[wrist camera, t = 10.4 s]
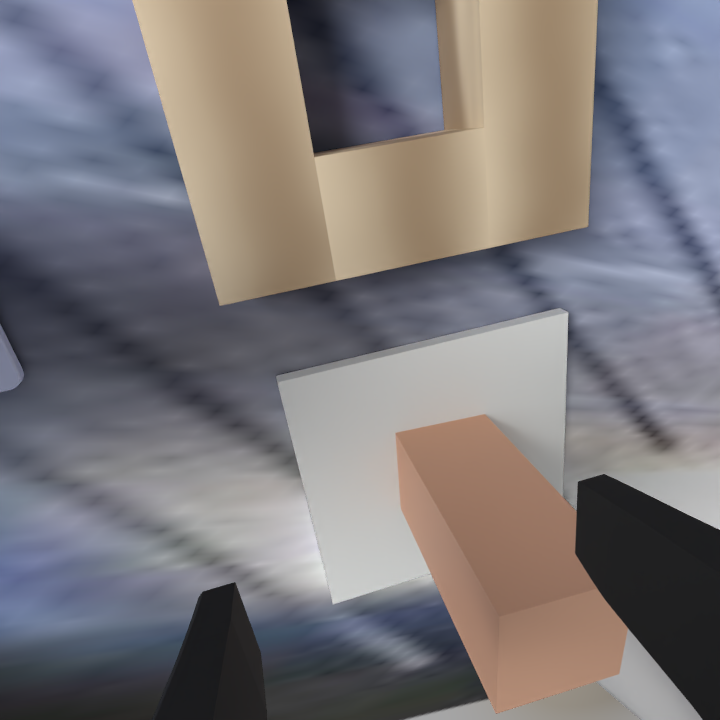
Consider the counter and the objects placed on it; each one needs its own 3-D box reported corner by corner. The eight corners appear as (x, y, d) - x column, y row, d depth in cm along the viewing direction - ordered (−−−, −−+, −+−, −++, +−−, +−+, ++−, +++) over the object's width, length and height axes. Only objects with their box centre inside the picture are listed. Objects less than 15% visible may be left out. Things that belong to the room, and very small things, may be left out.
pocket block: (221, 280, 17) (219, 305, 15) (90, -193, 12) (49, -289, 9) (537, 215, 19) (587, 226, 16) (538, -223, 14) (611, -310, 11)
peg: (400, 508, 22) (496, 713, 14) (395, 432, 21) (499, 616, 13) (483, 489, 23) (619, 673, 15) (485, 414, 21) (637, 577, 13)
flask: (639, 524, 28) (833, 707, 19) (639, 609, 31) (806, 799, 22) (520, 572, 27) (663, 786, 18) (533, 654, 30) (660, 870, 21)
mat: (330, 594, 24) (332, 604, 24) (275, 375, 19) (277, 382, 19) (555, 524, 26) (562, 532, 25) (559, 308, 21) (568, 312, 20)
